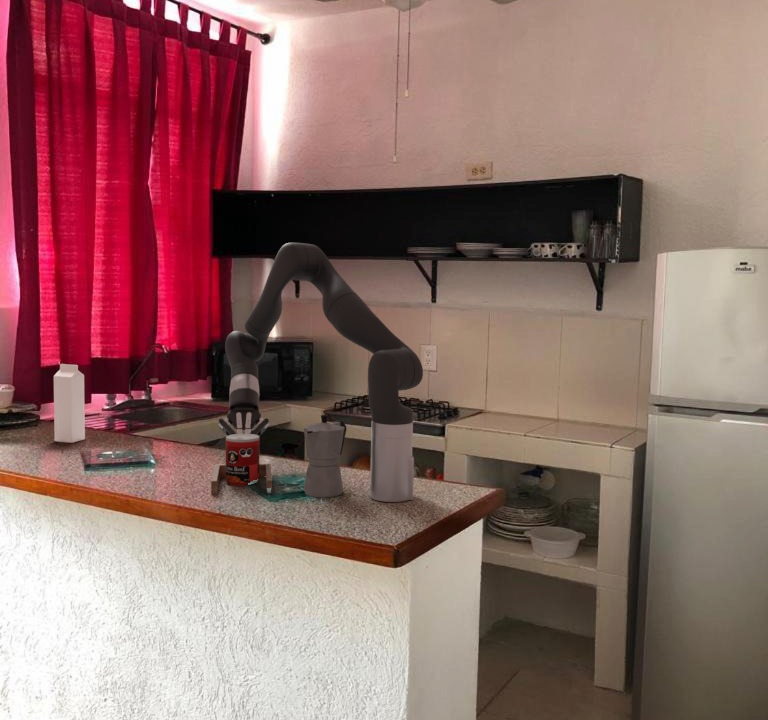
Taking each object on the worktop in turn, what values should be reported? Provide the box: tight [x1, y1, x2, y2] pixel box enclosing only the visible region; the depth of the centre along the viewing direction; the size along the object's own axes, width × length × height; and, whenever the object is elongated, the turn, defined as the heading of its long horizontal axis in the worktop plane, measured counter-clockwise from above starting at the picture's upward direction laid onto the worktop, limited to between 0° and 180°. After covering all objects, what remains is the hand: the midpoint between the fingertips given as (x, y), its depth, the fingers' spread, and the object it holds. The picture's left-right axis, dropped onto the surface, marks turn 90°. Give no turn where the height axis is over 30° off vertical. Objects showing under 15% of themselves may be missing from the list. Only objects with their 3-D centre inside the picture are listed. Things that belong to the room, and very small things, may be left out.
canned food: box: [225, 433, 261, 487], centre depth 204 cm, size 8×8×11 cm
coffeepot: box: [303, 413, 347, 498], centre depth 197 cm, size 15×9×18 cm, turn 150°
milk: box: [53, 363, 86, 444], centre depth 249 cm, size 6×6×22 cm
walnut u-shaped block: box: [210, 463, 273, 495], centre depth 202 cm, size 13×17×3 cm
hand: (243, 452), depth 210 cm, fingers closed
